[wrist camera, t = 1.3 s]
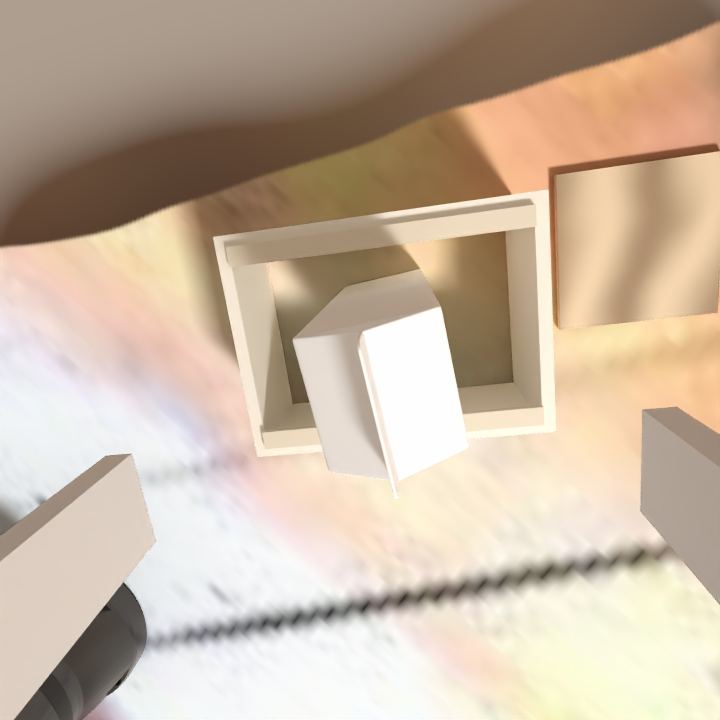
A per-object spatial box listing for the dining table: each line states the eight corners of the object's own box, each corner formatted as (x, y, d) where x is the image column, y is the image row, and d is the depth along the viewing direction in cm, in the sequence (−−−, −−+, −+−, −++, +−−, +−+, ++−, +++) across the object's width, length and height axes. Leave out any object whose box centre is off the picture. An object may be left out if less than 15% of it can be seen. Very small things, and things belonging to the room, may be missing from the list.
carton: (285, 413, 40) (255, 459, 32) (252, 235, 36) (210, 236, 28) (524, 390, 38) (557, 434, 30) (515, 199, 34) (550, 188, 26)
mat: (557, 328, 36) (560, 329, 36) (553, 175, 33) (556, 175, 33) (712, 311, 35) (717, 312, 34) (720, 151, 32) (726, 150, 32)
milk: (362, 358, 38) (311, 519, 17) (344, 284, 37) (264, 360, 16) (438, 342, 37) (482, 492, 16) (422, 266, 36) (448, 320, 15)
